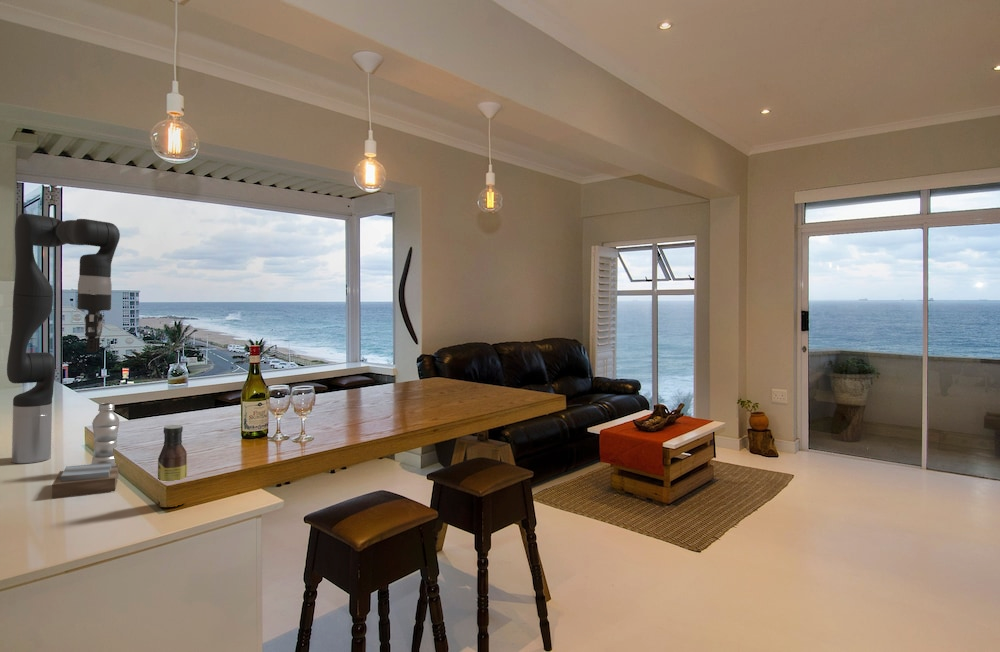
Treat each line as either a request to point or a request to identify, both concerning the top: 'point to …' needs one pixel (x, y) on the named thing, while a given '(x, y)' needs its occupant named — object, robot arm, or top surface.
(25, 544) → the top surface
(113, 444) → the silver bottle
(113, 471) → the plinth
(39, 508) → the top surface
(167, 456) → the sauce bottle
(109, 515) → the top surface
